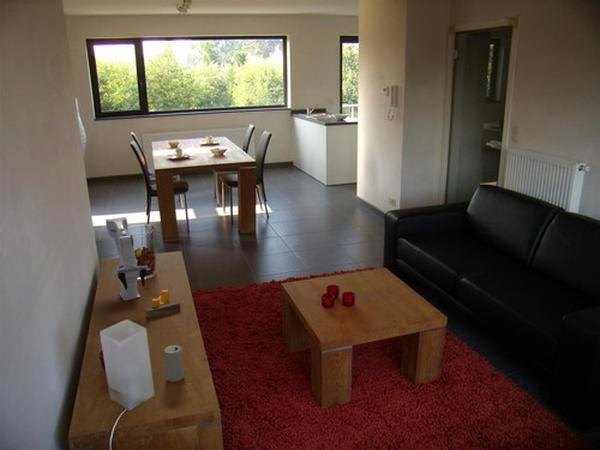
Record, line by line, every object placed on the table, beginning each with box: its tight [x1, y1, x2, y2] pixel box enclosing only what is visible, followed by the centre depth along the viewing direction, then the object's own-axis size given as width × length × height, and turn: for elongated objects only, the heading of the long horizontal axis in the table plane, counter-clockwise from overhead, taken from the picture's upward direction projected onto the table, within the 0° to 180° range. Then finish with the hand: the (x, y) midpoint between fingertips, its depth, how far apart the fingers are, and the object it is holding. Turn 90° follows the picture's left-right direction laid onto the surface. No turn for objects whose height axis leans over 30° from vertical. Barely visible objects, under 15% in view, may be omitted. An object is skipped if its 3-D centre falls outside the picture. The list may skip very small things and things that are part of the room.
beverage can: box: [163, 344, 185, 383], centre depth 180 cm, size 6×6×12 cm
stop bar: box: [145, 301, 181, 319], centre depth 230 cm, size 2×15×4 cm, turn 123°
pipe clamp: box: [151, 289, 170, 308], centre depth 236 cm, size 12×4×6 cm, turn 169°
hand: (135, 287), depth 229 cm, fingers open, 7 cm apart
